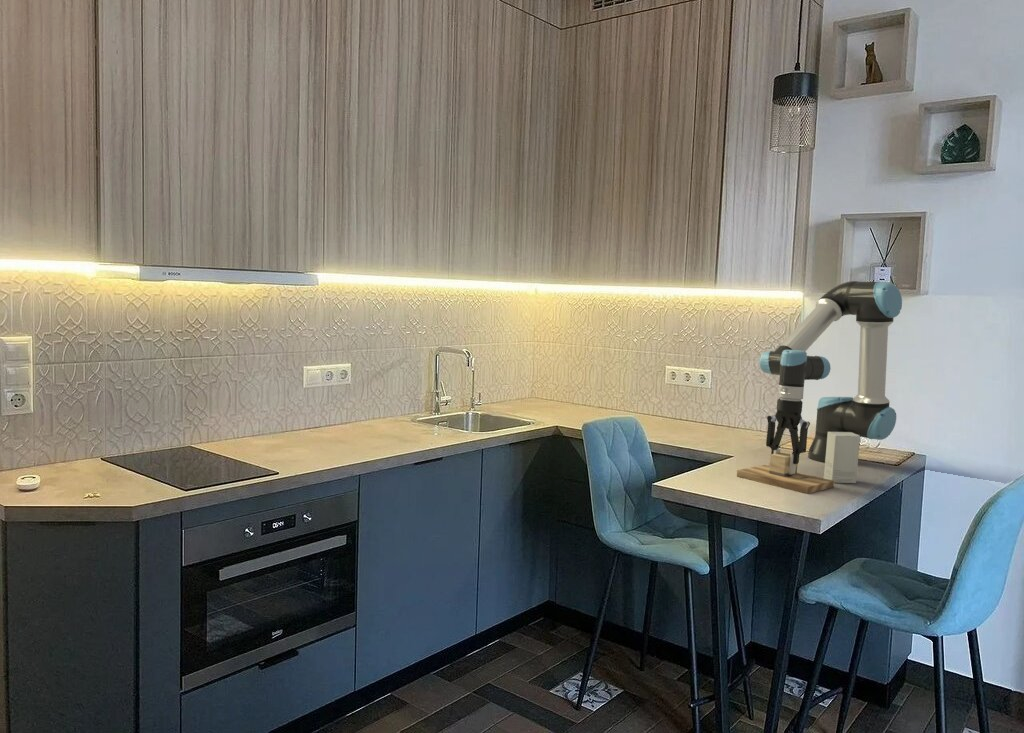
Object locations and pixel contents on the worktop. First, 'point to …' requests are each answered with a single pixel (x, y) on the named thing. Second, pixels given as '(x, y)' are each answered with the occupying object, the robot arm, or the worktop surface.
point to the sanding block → (780, 464)
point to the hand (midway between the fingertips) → (783, 471)
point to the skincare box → (842, 457)
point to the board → (786, 479)
